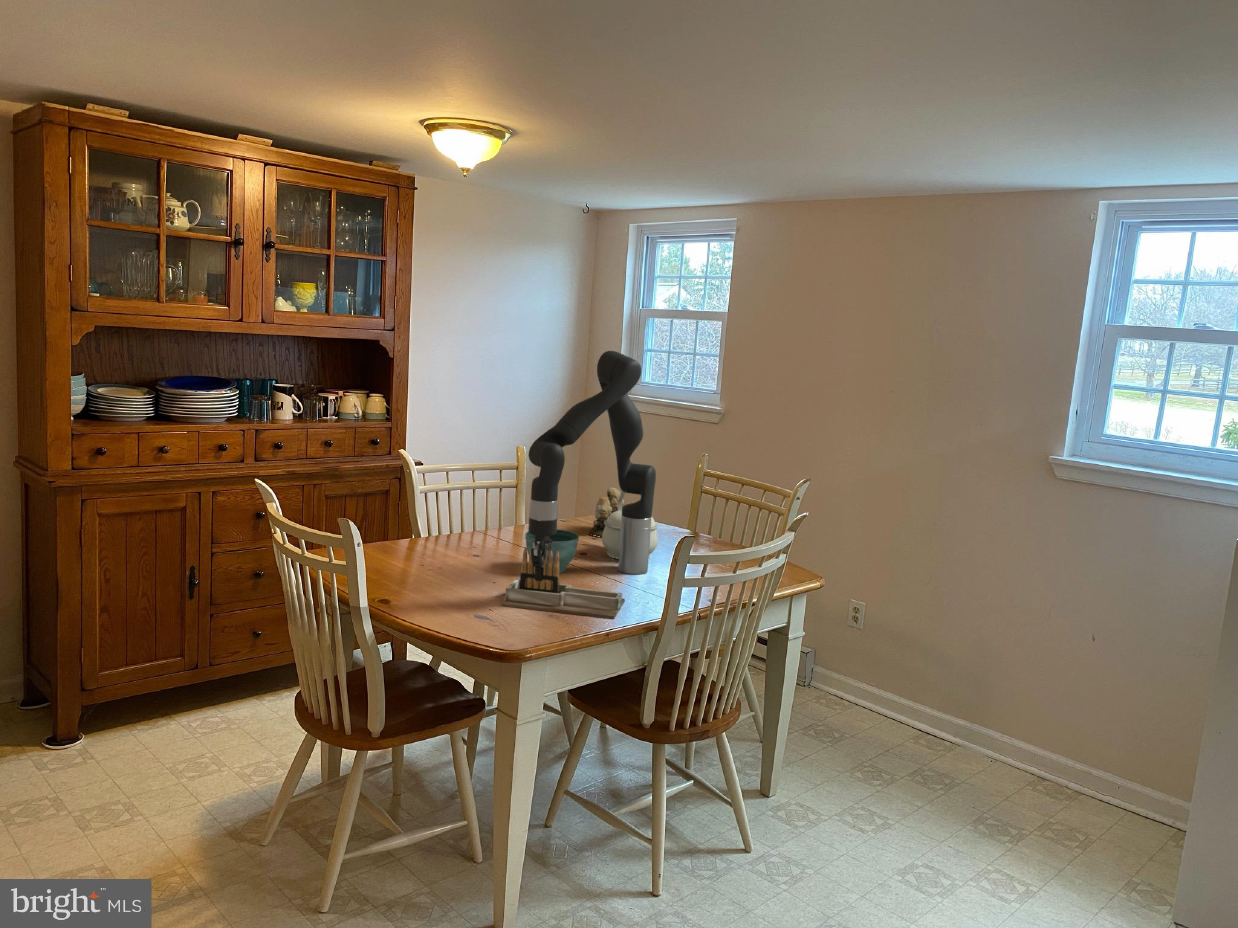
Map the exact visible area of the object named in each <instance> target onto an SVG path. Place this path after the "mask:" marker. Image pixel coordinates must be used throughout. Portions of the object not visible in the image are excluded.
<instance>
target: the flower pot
mask: <svg viewBox="0 0 1238 928" xmlns="http://www.w3.org/2000/svg"><path fill="white" fill-rule="evenodd" d="M524 537H525V547H526V549H527V555H529V554H530V550H531V548H533V541H535V535H532V534H530V533H529V532H528V531H527V532H525V534H524ZM549 539H550V540H552V544H551V550H552V554H553V568H554V562H555V555H556V552H557V551H558V552H559V566H560V569H559V574H560V573H564V572H565V571H566V570H567V567H568V566H569V564H570V563H571V561H572V560H573V558H574V557H575V555H576V551H577V548H578V543H579V539H580V536H579V534H578V533H577V532H574V531H570V530H565V529H558V528H557V532H556V534H555V535H553V536H549ZM533 549H534V548H533ZM547 564H548V561H547ZM546 574H547V569H546Z"/></svg>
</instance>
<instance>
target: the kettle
mask: <svg viewBox="0 0 1238 928" xmlns="http://www.w3.org/2000/svg"><path fill="white" fill-rule="evenodd" d="M620 493H621V494H620V497H619V500H618V511H616V512H614V513H612V514H611V515H610V516H609V517H608V519H607V520H605V521H604V524H605V525H606V526H605V528H604V531H603V534H602V538H601V543H602V545H603V548H604V549H605V550H606V551H607V552H606V553H607V556H608V555H609V556H608V557H609V558H611V557H612V559H614V558H616V559H615V560H617V559H619V547H620V532H621V516H622V500H624V497H625V494H626V493H625V492H623V491H622V490H621V491H620ZM640 499H641V495H639V500H640ZM631 503H632V502H630V503H629V504H631ZM658 527H659V526H658V524H657V523H656V522H655V519H654V518H653V516H652V517H651V531H650V546H649V557H650V558H651V554H652V553H653V552H654V551H655V550H656V549H657V546H658V543H659V536H658V532H657V529H658Z"/></svg>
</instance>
